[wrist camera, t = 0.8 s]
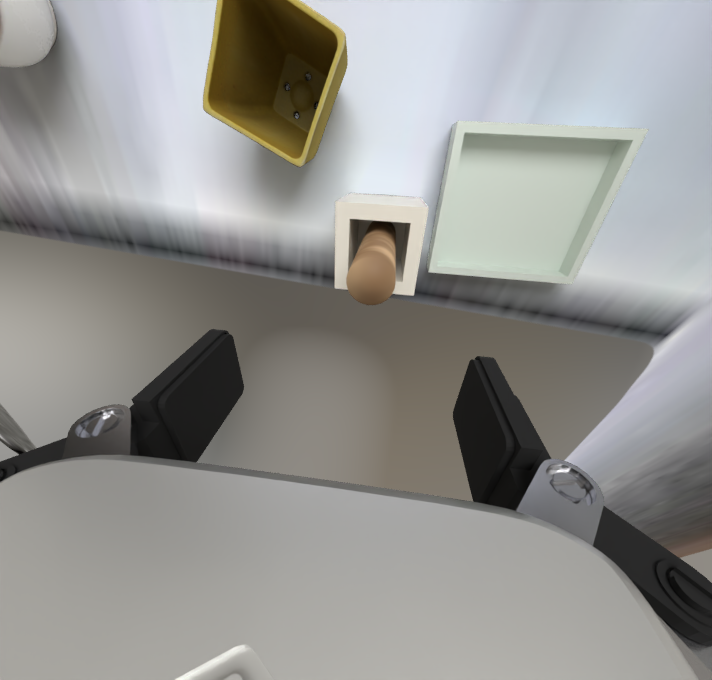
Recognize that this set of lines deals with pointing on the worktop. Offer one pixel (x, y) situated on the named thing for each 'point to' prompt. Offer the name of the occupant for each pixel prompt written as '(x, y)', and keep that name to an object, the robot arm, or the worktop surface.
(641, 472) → the worktop surface
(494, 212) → the tray
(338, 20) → the worktop surface
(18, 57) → the lidded jar
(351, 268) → the dowel
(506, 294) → the worktop surface
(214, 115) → the flower pot
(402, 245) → the white square holder
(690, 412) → the worktop surface
